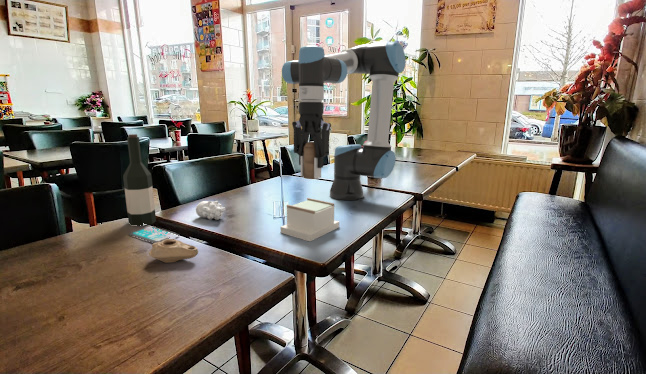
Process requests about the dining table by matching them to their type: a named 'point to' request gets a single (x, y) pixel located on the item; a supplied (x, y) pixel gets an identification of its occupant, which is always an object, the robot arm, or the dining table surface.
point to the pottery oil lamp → (172, 250)
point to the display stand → (310, 219)
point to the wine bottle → (138, 187)
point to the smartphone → (151, 235)
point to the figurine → (210, 210)
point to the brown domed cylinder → (309, 160)
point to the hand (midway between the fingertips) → (310, 176)
